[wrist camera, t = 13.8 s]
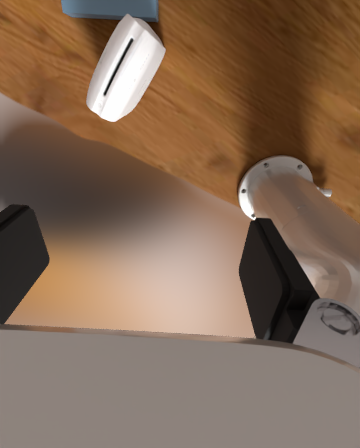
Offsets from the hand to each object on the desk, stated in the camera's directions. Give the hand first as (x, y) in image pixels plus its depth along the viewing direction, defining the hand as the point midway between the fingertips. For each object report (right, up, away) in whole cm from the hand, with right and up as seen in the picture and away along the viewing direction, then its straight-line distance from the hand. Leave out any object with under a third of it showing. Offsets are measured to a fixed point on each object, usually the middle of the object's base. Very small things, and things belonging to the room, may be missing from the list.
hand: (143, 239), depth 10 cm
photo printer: (-4, +22, +22) cm, 32 cm away
